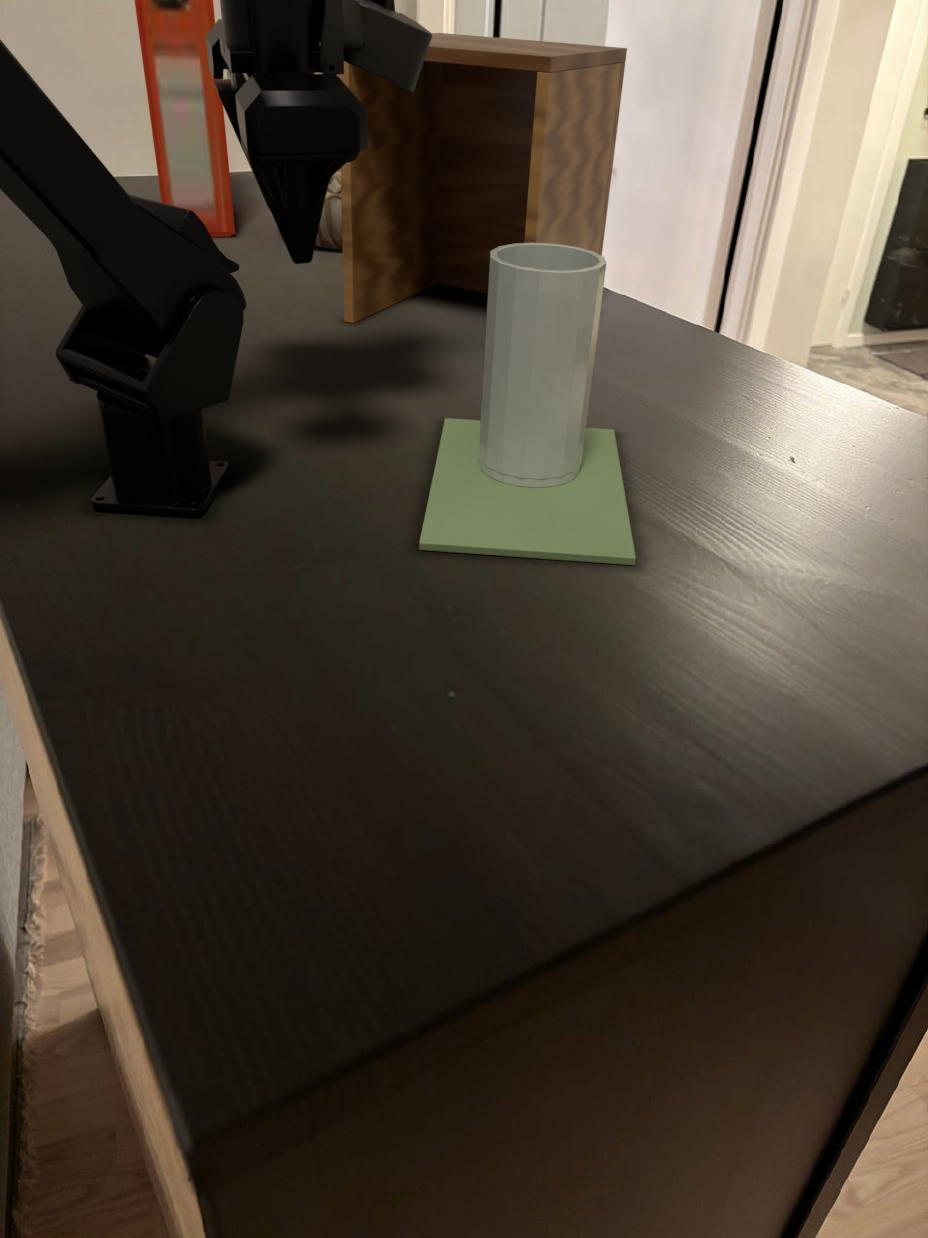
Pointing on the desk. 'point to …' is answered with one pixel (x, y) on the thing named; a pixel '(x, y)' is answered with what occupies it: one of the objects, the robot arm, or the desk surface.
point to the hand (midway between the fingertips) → (289, 234)
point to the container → (538, 361)
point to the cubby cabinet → (476, 163)
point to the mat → (527, 505)
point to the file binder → (186, 110)
